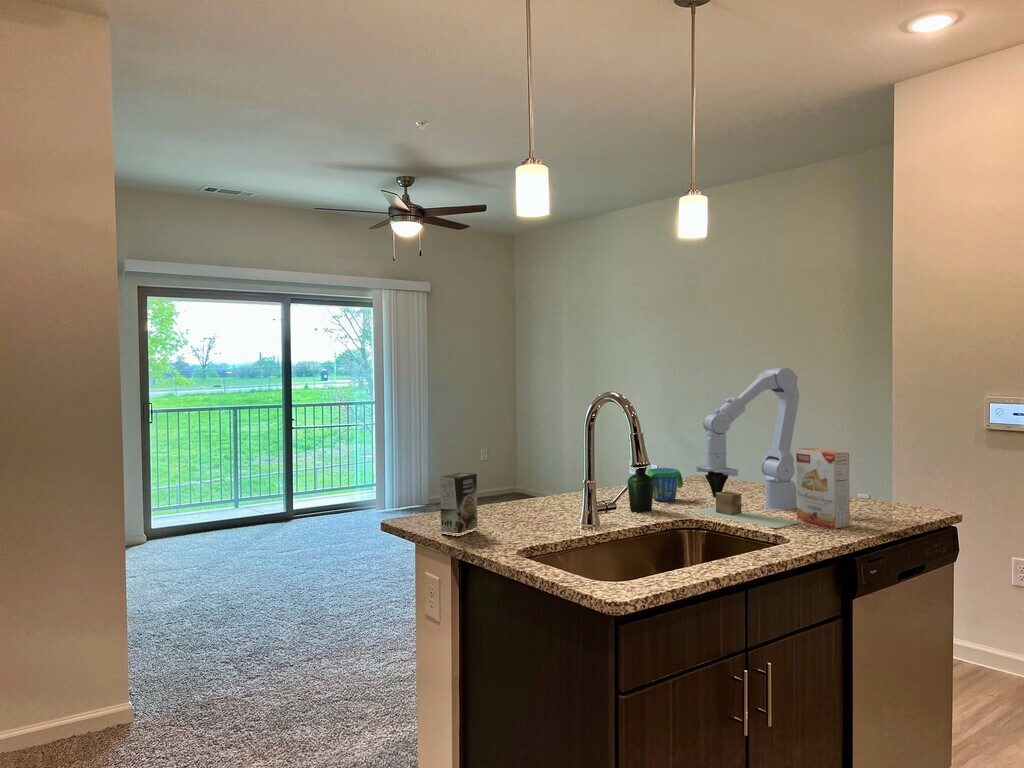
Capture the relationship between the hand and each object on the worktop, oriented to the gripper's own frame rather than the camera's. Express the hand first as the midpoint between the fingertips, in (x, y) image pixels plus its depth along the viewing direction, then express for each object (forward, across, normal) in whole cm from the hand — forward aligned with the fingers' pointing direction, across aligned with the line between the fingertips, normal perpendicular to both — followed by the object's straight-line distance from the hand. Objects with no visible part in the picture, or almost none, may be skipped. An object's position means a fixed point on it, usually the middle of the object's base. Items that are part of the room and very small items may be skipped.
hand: (717, 497), depth 224 cm
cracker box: (+5, +29, +9) cm, 31 cm away
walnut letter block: (+4, +4, 0) cm, 6 cm away
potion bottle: (+5, -16, -17) cm, 24 cm away
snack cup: (+5, -25, +3) cm, 25 cm away
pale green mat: (+5, +10, -1) cm, 11 cm away
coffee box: (+5, -26, -77) cm, 81 cm away
